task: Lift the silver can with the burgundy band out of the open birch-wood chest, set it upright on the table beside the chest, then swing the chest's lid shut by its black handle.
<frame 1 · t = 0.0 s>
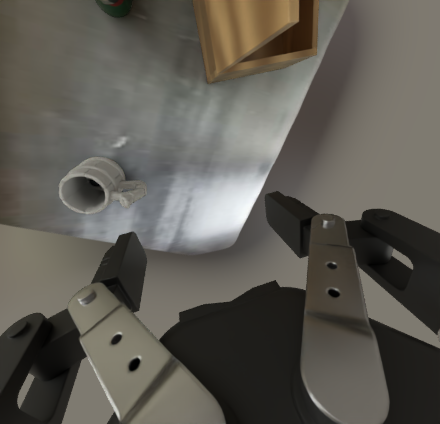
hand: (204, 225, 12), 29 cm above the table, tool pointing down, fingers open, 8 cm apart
chest: (240, 13, 30), on the table
mug: (117, 177, 37), on the table
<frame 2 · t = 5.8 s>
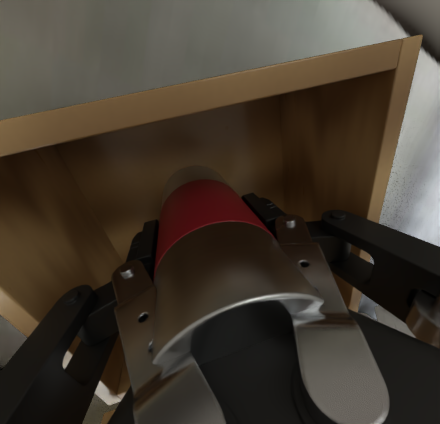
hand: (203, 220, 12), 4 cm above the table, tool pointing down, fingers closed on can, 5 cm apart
chest: (197, 200, 16), on the table
mug: (355, 317, 32), on the table
can: (196, 198, 16), point 1 cm above the table, touching chest, gripper
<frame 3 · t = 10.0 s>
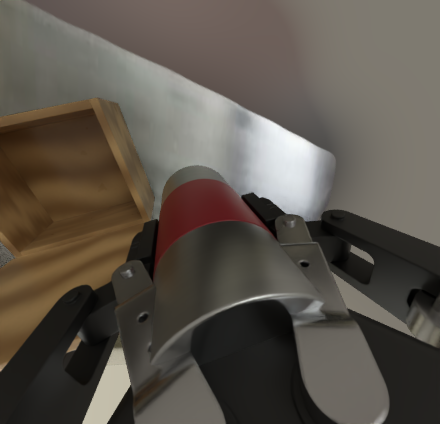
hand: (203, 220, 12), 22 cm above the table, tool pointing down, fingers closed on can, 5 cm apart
chest: (83, 169, 29), on the table
lid: (61, 302, 18), point 17 cm above the table, hinge at 85.0°
can: (196, 198, 15), point 18 cm above the table, touching gripper
when the fingers open (4 cm above the table, at t = 14.4 s): can stays where it is, on the table.
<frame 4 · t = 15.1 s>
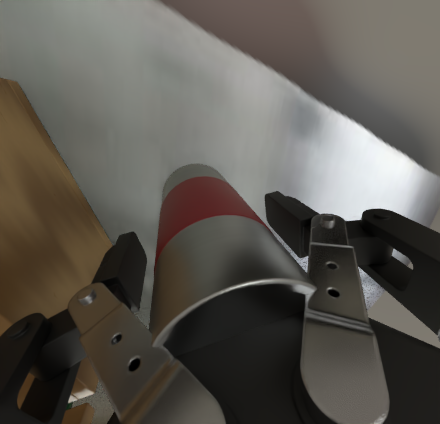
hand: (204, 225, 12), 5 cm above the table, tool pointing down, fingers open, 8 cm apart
can: (196, 196, 16), on the table
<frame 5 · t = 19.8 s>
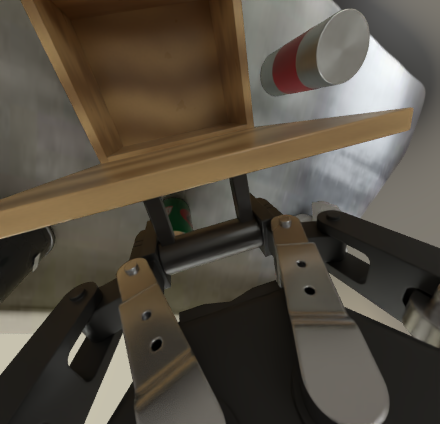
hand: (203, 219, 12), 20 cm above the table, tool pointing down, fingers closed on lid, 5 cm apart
chest: (162, 80, 25), on the table
mug: (300, 219, 40), on the table
lid: (193, 186, 14), point 17 cm above the table, hinge at 85.0°, touching gripper
soda can: (174, 209, 33), on the table
can: (277, 74, 28), on the table
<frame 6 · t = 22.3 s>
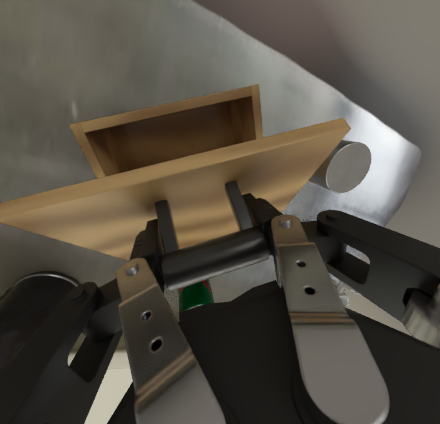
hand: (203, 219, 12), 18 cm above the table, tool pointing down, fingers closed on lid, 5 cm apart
chest: (185, 163, 28), on the table
mug: (305, 262, 44), on the table
lid: (210, 244, 15), point 16 cm above the table, hinge at 40.7°, touching gripper
soda can: (190, 262, 36), on the table
can: (287, 150, 31), on the table
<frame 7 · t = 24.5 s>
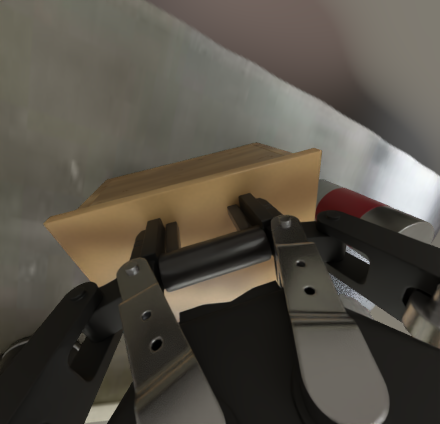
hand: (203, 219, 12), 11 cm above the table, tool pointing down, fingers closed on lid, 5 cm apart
chest: (201, 217, 24), on the table
mug: (326, 304, 40), on the table
lid: (224, 292, 14), point 12 cm above the table, hinge at 3.7°, touching gripper
can: (315, 197, 27), on the table
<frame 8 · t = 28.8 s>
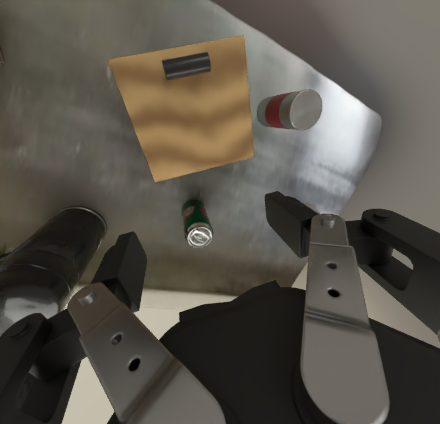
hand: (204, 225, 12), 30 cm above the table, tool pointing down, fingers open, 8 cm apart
lid: (196, 118, 25), point 12 cm above the table, hinge at 3.3°
soda can: (192, 208, 44), on the table
can: (269, 112, 39), on the table
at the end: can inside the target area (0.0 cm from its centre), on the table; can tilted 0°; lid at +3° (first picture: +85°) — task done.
